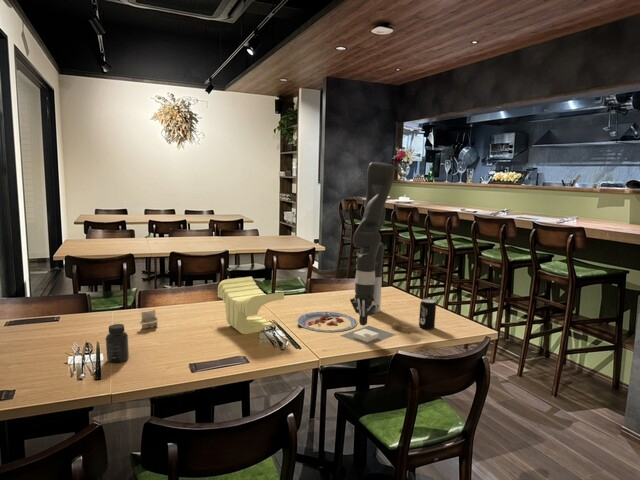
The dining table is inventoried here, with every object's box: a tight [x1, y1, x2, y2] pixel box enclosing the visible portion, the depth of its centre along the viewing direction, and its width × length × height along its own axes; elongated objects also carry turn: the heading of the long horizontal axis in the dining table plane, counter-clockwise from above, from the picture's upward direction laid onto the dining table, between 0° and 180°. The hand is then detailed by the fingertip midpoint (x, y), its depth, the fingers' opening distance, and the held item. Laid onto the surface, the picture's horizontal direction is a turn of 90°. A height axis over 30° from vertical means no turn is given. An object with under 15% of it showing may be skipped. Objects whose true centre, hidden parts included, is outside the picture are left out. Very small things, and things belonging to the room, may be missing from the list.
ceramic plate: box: [296, 311, 358, 333], centre depth 195 cm, size 26×26×3 cm
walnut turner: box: [391, 322, 411, 334], centre depth 189 cm, size 13×6×4 cm, turn 45°
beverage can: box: [418, 298, 437, 331], centre depth 195 cm, size 7×7×12 cm
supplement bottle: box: [105, 323, 130, 365], centre depth 153 cm, size 7×7×12 cm
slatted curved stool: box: [217, 276, 285, 335], centre depth 188 cm, size 30×16×18 cm, turn 34°
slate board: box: [340, 325, 397, 347], centre depth 180 cm, size 14×18×2 cm
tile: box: [353, 329, 379, 343], centre depth 176 cm, size 2×7×7 cm
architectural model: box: [138, 309, 159, 330], centre depth 184 cm, size 3×7×7 cm, turn 127°
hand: (363, 324), depth 177 cm, fingers closed
